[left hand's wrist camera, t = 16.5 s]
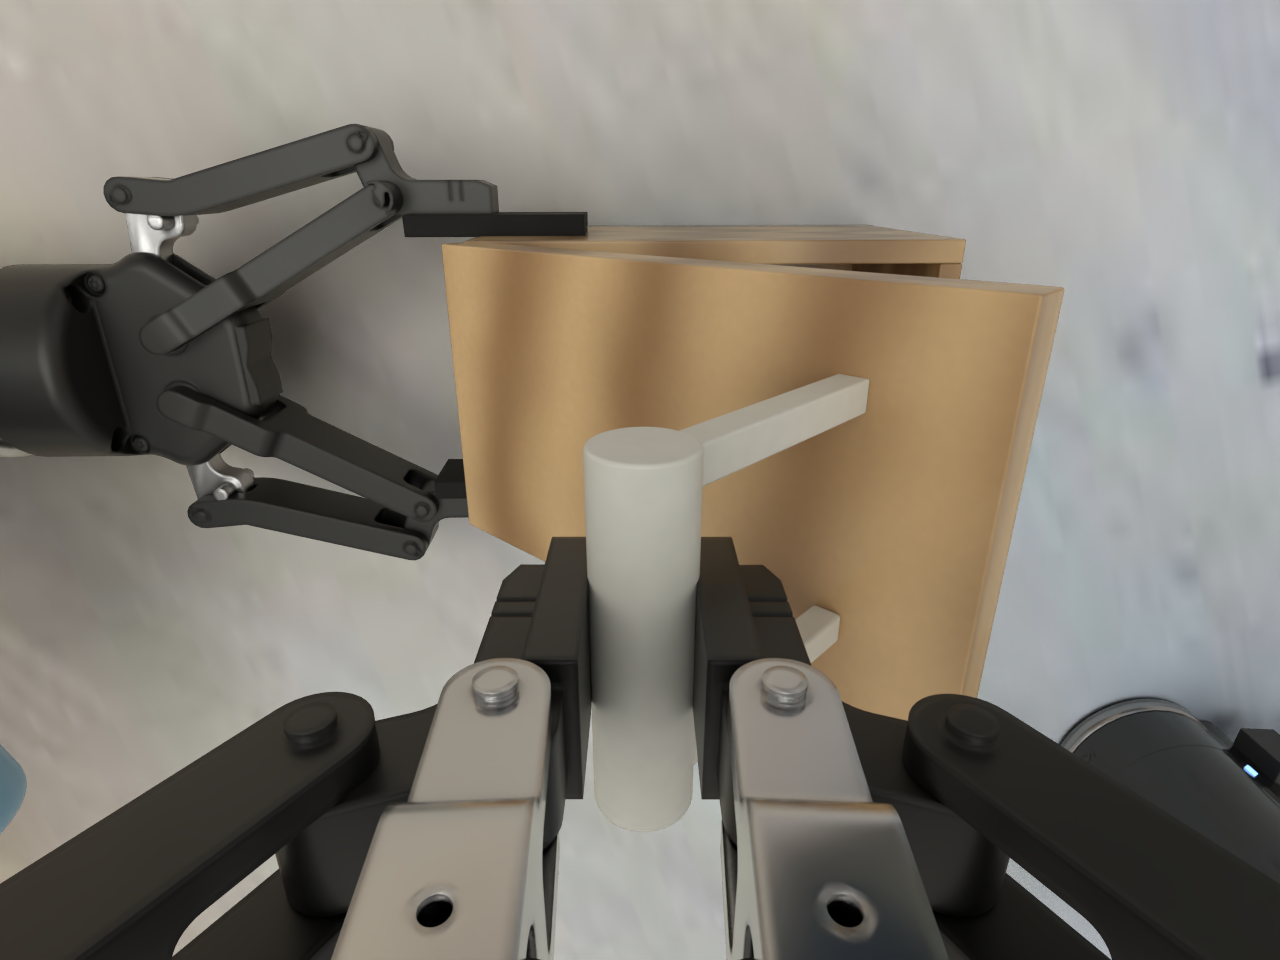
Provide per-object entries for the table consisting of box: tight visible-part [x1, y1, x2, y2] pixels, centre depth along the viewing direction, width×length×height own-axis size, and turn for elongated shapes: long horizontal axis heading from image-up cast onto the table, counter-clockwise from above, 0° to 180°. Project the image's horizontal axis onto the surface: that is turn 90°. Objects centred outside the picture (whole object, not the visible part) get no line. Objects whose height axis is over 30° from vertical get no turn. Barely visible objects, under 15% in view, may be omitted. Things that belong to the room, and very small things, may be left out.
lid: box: [442, 242, 1064, 832], centre depth 17 cm, size 17×10×8 cm
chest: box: [464, 225, 966, 279], centre depth 30 cm, size 17×10×10 cm, turn 90°
